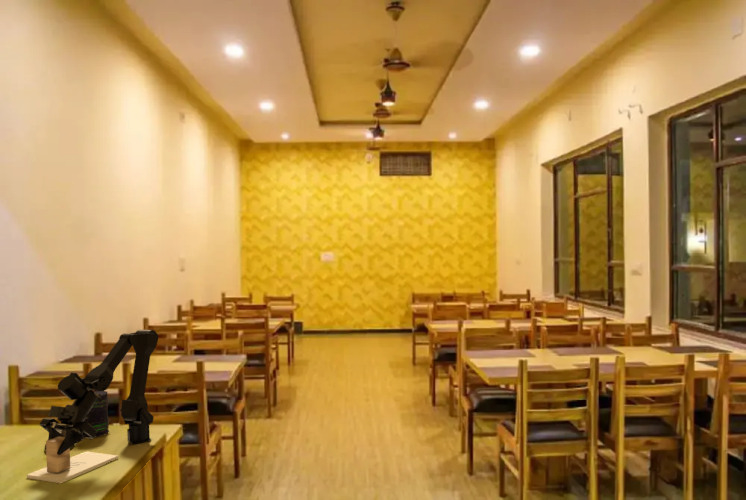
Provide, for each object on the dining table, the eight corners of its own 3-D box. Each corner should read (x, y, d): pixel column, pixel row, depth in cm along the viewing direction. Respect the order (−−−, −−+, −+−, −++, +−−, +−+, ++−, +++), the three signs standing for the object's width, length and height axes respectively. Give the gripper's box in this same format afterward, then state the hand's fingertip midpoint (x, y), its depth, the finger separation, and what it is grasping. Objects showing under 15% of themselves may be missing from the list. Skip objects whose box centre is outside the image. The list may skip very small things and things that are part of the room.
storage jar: (114, 432, 231) (112, 392, 230) (88, 439, 223) (87, 398, 223) (100, 428, 237) (99, 389, 237) (75, 435, 229) (73, 394, 229)
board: (86, 454, 206) (86, 451, 206) (118, 458, 201) (118, 455, 201) (26, 477, 186) (26, 474, 186) (60, 483, 180) (60, 479, 180)
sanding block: (59, 466, 191) (58, 436, 191) (70, 468, 189) (69, 437, 189) (47, 472, 187) (45, 440, 187) (57, 473, 185) (56, 442, 185)
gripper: (43, 392, 194) (12, 437, 184) (87, 396, 187) (57, 443, 177) (65, 410, 202) (36, 455, 192) (108, 414, 195) (81, 461, 185)
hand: (52, 453), depth 186 cm, fingers closed on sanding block, 4 cm apart
